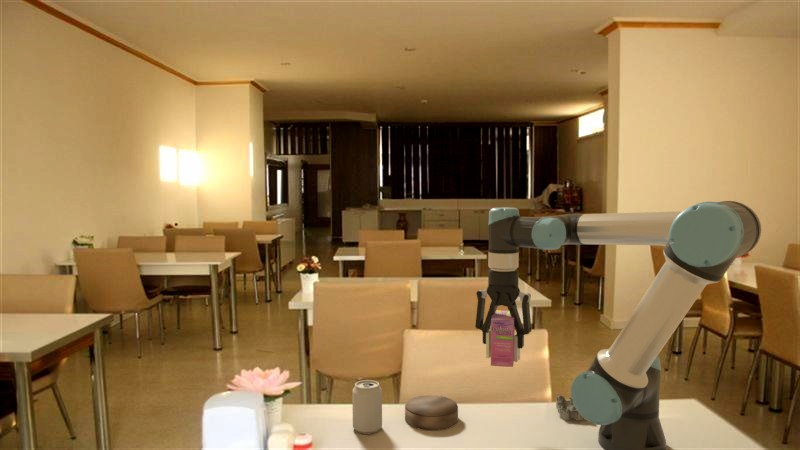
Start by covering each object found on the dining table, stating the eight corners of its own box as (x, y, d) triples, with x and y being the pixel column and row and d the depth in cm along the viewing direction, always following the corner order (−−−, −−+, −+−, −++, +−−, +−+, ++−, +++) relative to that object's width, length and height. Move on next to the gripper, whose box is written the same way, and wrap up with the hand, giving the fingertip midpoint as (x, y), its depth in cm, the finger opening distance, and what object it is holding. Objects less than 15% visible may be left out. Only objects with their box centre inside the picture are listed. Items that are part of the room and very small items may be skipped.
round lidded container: (465, 414, 163) (465, 400, 163) (445, 434, 151) (445, 419, 151) (419, 405, 170) (419, 392, 170) (395, 424, 158) (395, 409, 157)
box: (513, 367, 148) (513, 319, 148) (490, 366, 150) (490, 319, 149) (515, 355, 159) (515, 310, 158) (493, 354, 160) (492, 309, 159)
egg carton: (555, 406, 170) (555, 391, 170) (582, 407, 169) (583, 393, 169) (557, 420, 160) (558, 405, 160) (587, 422, 159) (587, 407, 158)
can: (385, 424, 157) (385, 379, 156) (376, 436, 150) (376, 389, 149) (358, 421, 159) (358, 377, 158) (348, 433, 152) (348, 386, 151)
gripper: (545, 269, 151) (544, 359, 153) (472, 264, 160) (472, 349, 162) (538, 273, 144) (537, 367, 146) (461, 268, 153) (461, 357, 155)
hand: (502, 358), depth 154 cm, fingers closed on box, 7 cm apart
